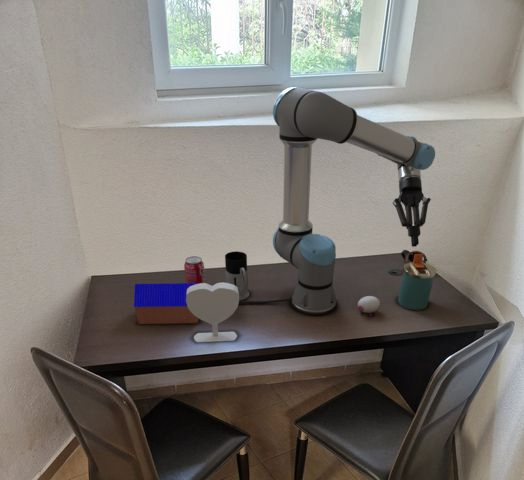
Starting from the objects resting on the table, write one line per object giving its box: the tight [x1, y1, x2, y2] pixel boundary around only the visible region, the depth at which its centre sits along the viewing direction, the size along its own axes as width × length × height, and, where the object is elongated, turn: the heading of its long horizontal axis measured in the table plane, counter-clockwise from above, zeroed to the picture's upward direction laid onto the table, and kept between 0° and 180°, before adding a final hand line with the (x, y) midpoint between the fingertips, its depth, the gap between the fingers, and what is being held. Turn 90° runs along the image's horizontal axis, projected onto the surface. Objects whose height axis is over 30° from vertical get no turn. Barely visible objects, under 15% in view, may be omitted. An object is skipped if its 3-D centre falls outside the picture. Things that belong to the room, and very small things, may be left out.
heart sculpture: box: [186, 282, 240, 343], centre depth 139 cm, size 16×5×18 cm, turn 94°
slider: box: [413, 254, 425, 268], centre depth 155 cm, size 4×3×3 cm
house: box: [133, 282, 200, 325], centre depth 152 cm, size 12×20×12 cm, turn 92°
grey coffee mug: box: [224, 250, 250, 301], centre depth 160 cm, size 9×14×15 cm, turn 20°
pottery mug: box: [400, 249, 428, 264], centre depth 183 cm, size 12×10×8 cm
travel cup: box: [397, 261, 437, 311], centre depth 158 cm, size 11×11×14 cm
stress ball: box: [357, 295, 381, 317], centre depth 156 cm, size 8×8×7 cm
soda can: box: [183, 255, 206, 284], centre depth 166 cm, size 7×7×12 cm
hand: (415, 245), depth 158 cm, fingers closed
